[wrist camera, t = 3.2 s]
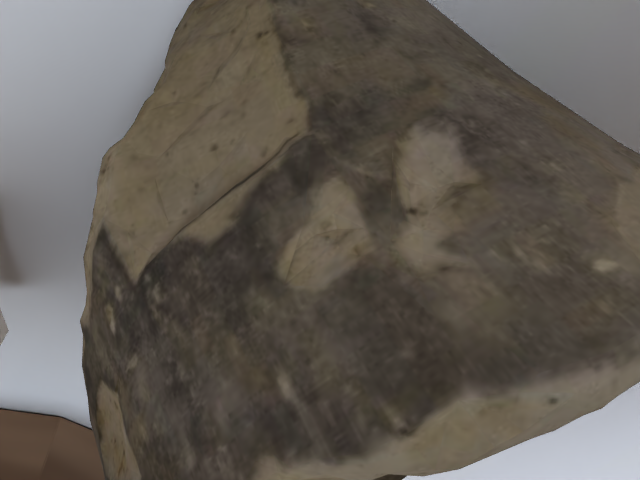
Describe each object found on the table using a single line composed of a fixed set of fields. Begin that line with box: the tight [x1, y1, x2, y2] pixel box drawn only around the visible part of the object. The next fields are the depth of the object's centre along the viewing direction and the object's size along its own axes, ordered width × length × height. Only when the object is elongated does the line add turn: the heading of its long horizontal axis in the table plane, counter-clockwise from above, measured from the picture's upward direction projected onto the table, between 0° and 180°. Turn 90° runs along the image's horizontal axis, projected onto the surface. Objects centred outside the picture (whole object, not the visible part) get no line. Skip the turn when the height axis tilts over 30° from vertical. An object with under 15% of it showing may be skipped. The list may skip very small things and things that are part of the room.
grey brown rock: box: [80, 0, 640, 480], centre depth 9 cm, size 11×9×10 cm
